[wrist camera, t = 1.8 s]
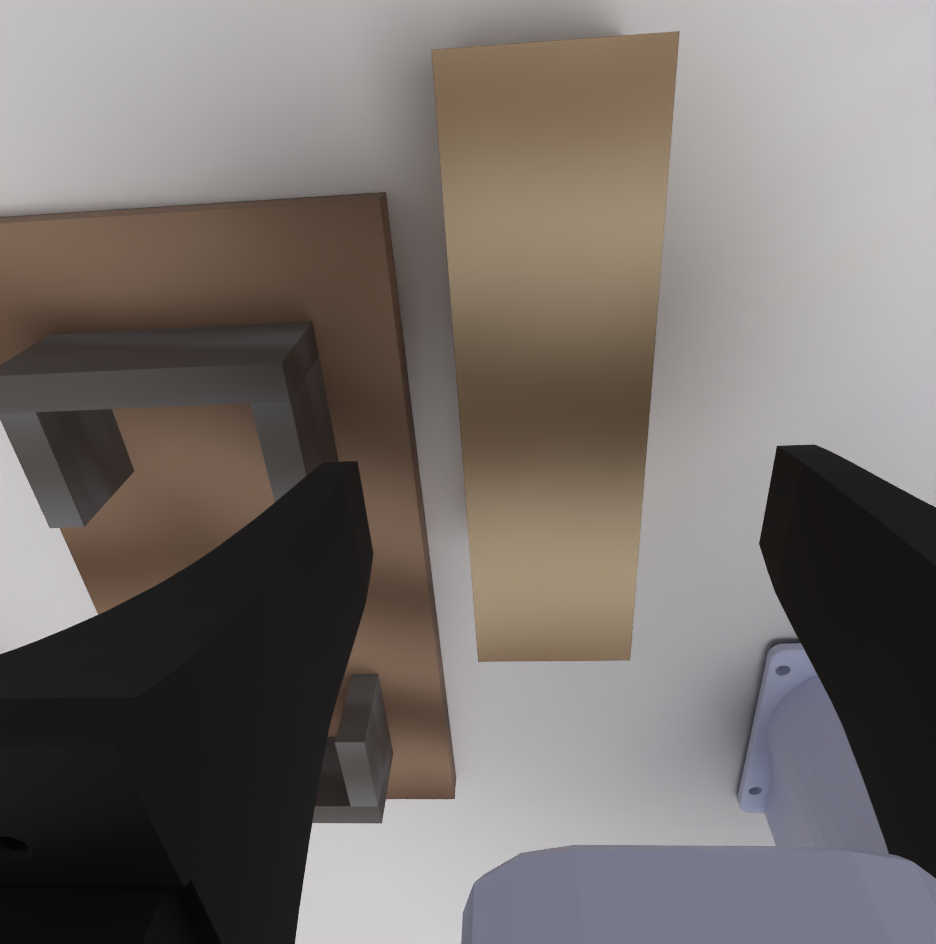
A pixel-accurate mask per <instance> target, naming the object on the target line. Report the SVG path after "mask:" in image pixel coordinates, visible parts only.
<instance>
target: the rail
mask: <svg viewBox="0 0 936 944" xmlns="http://www.w3.org/2000/svg"><path fill="white" fill-rule="evenodd" d="M678 44H679V31H678V32H665V33H651V34H638V35H624V36H610V37H597V38H583V39H570V40H556V41H543V42H529V43H516V44H502V45H489V46H475V47H462V48H448V49H435V50H431V51H432V64H433V77H434V90H435V103H436V116H437V129H438V142H439V155H440V168H441V182H442V195H443V208H444V221H445V234H446V247H447V260H448V273H449V286H450V299H451V312H452V325H453V339H454V352H455V365H456V378H457V391H458V404H459V417H460V430H461V443H462V456H463V469H464V483H465V496H466V509H467V522H468V535H469V548H470V561H471V574H472V587H473V600H474V613H475V626H476V640H477V653H478V662H487V661H608V660H630V654H631V642H632V629H633V616H634V603H635V591H636V578H637V565H638V553H639V540H640V527H641V514H642V502H643V489H644V476H645V464H646V451H647V438H648V425H649V413H650V400H651V387H652V374H653V362H654V349H655V336H656V324H657V311H658V298H659V285H660V273H661V260H662V247H663V235H664V222H665V209H666V196H667V184H668V171H669V158H670V145H671V133H672V120H673V107H674V95H675V82H676V69H677V56H678Z"/></svg>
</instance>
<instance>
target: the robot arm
mask: <svg viewBox="0 0 936 944" xmlns="http://www.w3.org/2000/svg"><path fill="white" fill-rule="evenodd" d="M759 545H760V548H761V551H762V554H763V557H764V561H765V564H766V567H767V570H768V573H769V576H770V579H771V581H772V584H773V587H774V590H775V593H776V595H777V597H778V599H779V601H780V603H781V605H782V607H783V609H784V611H785V613H786V615H787V617H788V619H789V621H790V623H791V625H792V627H793V629H794V631H795V633H796V635H797V637H798V638H799V640H800V642H801V643H791V644H778V645H776V646H774V647H772V648H771V649H770V650H769V652H768V655H767V659H766V664H765V669H764V674H763V678H762V683H761V688H760V693H759V698H758V702H757V707H756V712H755V717H754V721H753V726H752V731H751V736H750V741H749V745H748V750H747V755H746V760H745V764H744V769H743V774H742V779H741V784H740V788H739V793H738V798H737V799H738V804H739V807H740V808H741V810H743V811H745V812H765V815H766V818H767V821H768V824H769V827H770V830H771V833H772V836H773V839H774V842H775V845H776V846H646V845H571V846H565V847H558V848H551V849H544V850H538V851H531V852H524V853H520V854H518V855H517V856H515V857H513V858H512V859H510V860H508V861H507V862H505V863H503V864H501V865H500V866H498V867H496V868H495V869H493V870H491V871H489V872H488V873H486V874H484V875H483V876H482V877H481V878H479V879H478V880H477V881H476V882H474V884H473V887H472V890H471V893H470V895H469V898H468V901H467V903H466V906H465V909H464V911H463V921H462V941H461V944H936V507H934V506H932V505H930V504H928V503H926V502H924V501H922V500H920V499H918V498H916V497H914V496H913V495H911V494H909V493H907V492H905V491H903V490H901V489H899V488H898V487H896V486H894V485H892V484H890V483H888V482H887V481H885V480H883V479H881V478H879V477H877V476H876V475H874V474H872V473H870V472H868V471H866V470H865V469H863V468H861V467H859V466H857V465H855V464H854V463H852V462H850V461H848V460H846V459H844V458H842V457H840V456H838V455H836V454H834V453H832V452H830V451H828V450H826V449H824V448H821V447H819V446H817V445H791V446H777V449H776V455H775V460H774V466H773V471H772V477H771V482H770V488H769V493H768V499H767V504H766V510H765V515H764V521H763V526H762V532H761V537H760V543H759ZM373 554H374V553H373V547H372V542H371V536H370V530H369V524H368V518H367V513H366V507H365V501H364V495H363V489H362V483H361V478H360V472H359V466H358V461H343V462H324V463H322V464H321V465H319V466H318V467H317V468H315V469H314V470H313V471H312V472H310V473H309V474H308V475H307V476H306V477H304V478H303V479H302V480H301V481H300V482H298V483H297V484H296V485H295V486H294V487H293V488H291V489H290V490H289V491H288V492H287V493H286V494H284V495H283V496H282V497H281V498H280V499H278V500H277V501H276V502H275V503H273V504H272V505H271V506H270V507H269V508H267V509H266V510H265V511H264V512H263V513H261V514H260V515H259V516H258V517H256V518H255V519H254V520H253V521H251V522H250V523H249V524H247V525H246V526H245V527H243V528H242V529H241V530H239V531H238V532H237V533H235V534H234V535H233V536H231V537H230V538H229V539H227V540H226V541H225V542H223V543H222V544H221V545H219V546H218V547H217V548H215V549H214V550H212V551H211V552H209V553H208V554H206V555H205V556H203V557H202V558H200V559H199V560H197V561H196V562H194V563H193V564H191V565H189V566H188V567H186V568H184V569H183V570H181V571H179V572H178V573H176V574H175V575H173V576H171V577H170V578H168V579H166V580H165V581H163V582H161V583H159V584H158V585H156V586H154V587H152V588H150V589H148V590H146V591H144V592H142V593H140V594H138V595H136V596H134V597H132V598H131V599H129V600H127V601H125V602H123V603H121V604H119V605H117V606H115V607H113V608H111V609H109V610H107V611H105V612H103V613H101V614H99V615H97V616H95V617H92V618H90V619H88V620H86V621H83V622H81V623H79V624H77V625H74V626H72V627H70V628H67V629H65V630H63V631H60V632H58V633H55V634H53V635H50V636H48V637H46V638H43V639H41V640H38V641H36V642H33V643H30V644H28V645H25V646H23V647H20V648H17V649H14V650H12V651H9V652H6V653H3V654H0V944H295V937H296V930H297V922H298V914H299V906H300V900H301V893H302V886H303V879H304V873H305V866H306V859H307V852H308V845H309V839H310V833H311V827H312V821H313V815H314V809H315V803H316V797H317V791H318V785H319V780H320V774H321V769H322V764H323V758H324V753H325V748H326V742H327V737H328V732H329V727H330V723H331V719H332V715H333V711H334V707H335V704H336V701H337V697H338V694H339V691H340V687H341V684H342V681H343V678H344V674H345V671H346V668H347V664H348V661H349V658H350V655H351V651H352V648H353V645H354V642H355V638H356V635H357V631H358V628H359V625H360V621H361V618H362V615H363V611H364V608H365V604H366V600H367V594H368V588H369V582H370V575H371V568H372V561H373ZM779 666H783V667H779ZM778 667H779V668H778Z"/></svg>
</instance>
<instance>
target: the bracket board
mask: <svg viewBox="0 0 936 944" xmlns="http://www.w3.org/2000/svg"><path fill="white" fill-rule="evenodd" d="M0 420H1V422H2V424H3V427H4V429H5V431H6V433H7V435H8V438H9V440H10V442H11V444H12V446H13V448H14V451H15V453H16V455H17V457H18V459H19V462H20V464H21V466H22V468H23V470H24V473H25V475H26V477H27V479H28V481H29V483H30V486H31V488H32V490H33V492H34V494H35V497H36V499H37V501H38V503H39V505H40V508H41V510H42V512H43V514H44V516H45V518H46V521H47V523H48V525H49V527H50V528H60V530H61V532H62V535H63V537H64V539H65V541H66V543H67V546H68V548H69V550H70V552H71V555H72V557H73V559H74V561H75V564H76V566H77V568H78V570H79V572H80V575H81V577H82V579H83V581H84V584H85V586H86V588H87V590H88V592H89V595H90V597H91V599H92V601H93V604H94V606H95V608H96V610H97V613H98V615H99V614H101V613H103V612H105V611H107V610H109V609H111V608H113V607H115V606H117V605H119V604H121V603H123V602H125V601H127V600H129V599H131V598H132V597H134V596H136V595H138V594H140V593H142V592H144V591H146V590H148V589H150V588H152V587H154V586H156V585H158V584H159V583H161V582H163V581H165V580H166V579H168V578H170V577H171V576H173V575H175V574H176V573H178V572H179V571H181V570H183V569H184V568H186V567H188V566H189V565H191V564H193V563H194V562H196V561H197V560H199V559H200V558H202V557H203V556H205V555H206V554H208V553H209V552H211V551H212V550H214V549H215V548H217V547H218V546H219V545H221V544H222V543H223V542H225V541H226V540H227V539H229V538H230V537H231V536H233V535H234V534H235V533H237V532H238V531H239V530H241V529H242V528H243V527H245V526H246V525H247V524H249V523H250V522H251V521H253V520H254V519H255V518H256V517H258V516H259V515H260V514H261V513H263V512H264V511H265V510H266V509H267V508H269V507H270V506H271V505H272V504H273V503H275V502H276V501H277V500H278V499H280V498H281V497H282V496H283V495H284V494H286V493H287V492H288V491H289V490H290V489H291V488H293V487H294V486H295V485H296V484H297V483H298V482H300V481H301V480H302V479H303V478H304V477H306V476H307V475H308V474H309V473H310V472H312V471H313V470H314V469H315V468H317V467H318V466H319V465H321V464H322V463H324V462H343V461H358V466H359V472H360V478H361V483H362V489H363V495H364V501H365V507H366V513H367V518H368V524H369V530H370V536H371V542H372V547H373V553H374V554H373V561H372V568H371V575H370V582H369V588H368V594H367V600H366V604H365V608H364V611H363V615H362V618H361V621H360V625H359V628H358V631H357V635H356V638H355V642H354V645H353V648H352V651H351V655H350V658H349V661H348V664H347V668H346V671H345V674H344V678H343V681H342V684H341V687H340V691H339V694H338V697H337V701H336V704H335V707H334V711H333V715H332V719H331V723H330V727H329V732H328V737H327V742H326V748H325V753H324V758H323V764H322V769H321V774H320V780H319V785H318V791H317V797H316V803H315V809H314V815H313V821H312V823H382V819H383V813H384V807H385V801H386V799H455V785H456V774H455V766H454V757H453V749H452V741H451V732H450V724H449V716H448V707H447V699H446V691H445V682H444V674H443V666H442V658H441V649H440V641H439V633H438V624H437V616H436V608H435V599H434V591H433V583H432V574H431V566H430V558H429V549H428V541H427V533H426V525H425V516H424V508H423V500H422V491H421V483H420V475H419V466H418V458H417V450H416V441H415V433H414V425H413V416H412V408H411V400H410V392H409V383H408V375H407V367H406V358H405V350H404V342H403V333H402V325H401V317H400V308H399V300H398V292H397V283H396V275H395V267H394V259H393V250H392V242H391V234H390V225H389V217H388V209H387V200H386V192H385V193H370V194H354V195H339V196H323V197H308V198H292V199H277V200H262V201H246V202H231V203H215V204H200V205H184V206H169V207H153V208H138V209H122V210H107V211H91V212H76V213H60V214H45V215H29V216H14V217H0Z"/></svg>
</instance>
